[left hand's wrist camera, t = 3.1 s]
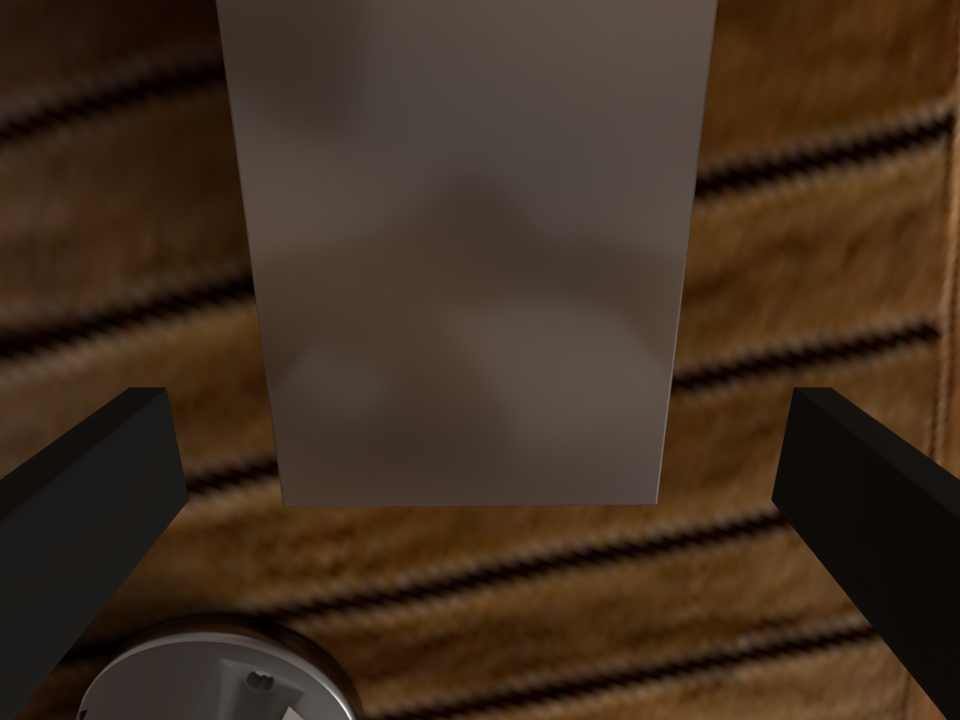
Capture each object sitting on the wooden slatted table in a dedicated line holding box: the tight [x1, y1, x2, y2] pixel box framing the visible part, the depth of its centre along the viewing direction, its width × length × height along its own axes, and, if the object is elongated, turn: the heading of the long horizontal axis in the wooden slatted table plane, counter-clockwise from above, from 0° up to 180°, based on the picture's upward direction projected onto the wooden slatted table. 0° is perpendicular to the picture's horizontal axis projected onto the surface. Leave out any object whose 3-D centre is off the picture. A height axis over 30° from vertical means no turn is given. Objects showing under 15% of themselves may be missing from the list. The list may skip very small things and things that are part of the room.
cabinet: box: [216, 0, 718, 507], centre depth 18 cm, size 21×11×11 cm, turn 0°
